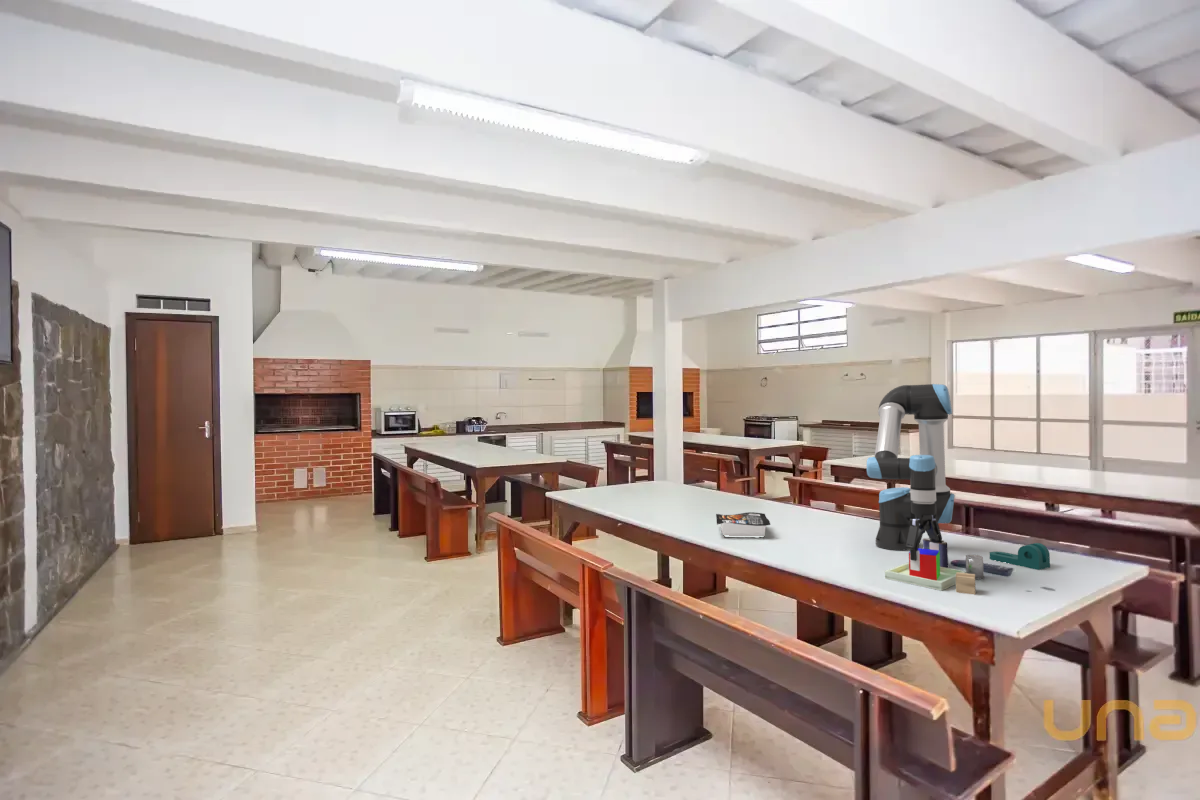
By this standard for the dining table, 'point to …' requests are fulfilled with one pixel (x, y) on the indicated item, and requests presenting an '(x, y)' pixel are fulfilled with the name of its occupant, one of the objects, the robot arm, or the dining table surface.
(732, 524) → the food packaging
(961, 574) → the oak block
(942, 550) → the flask
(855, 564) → the dining table surface
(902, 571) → the tray
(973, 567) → the grey canister
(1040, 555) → the bracket
